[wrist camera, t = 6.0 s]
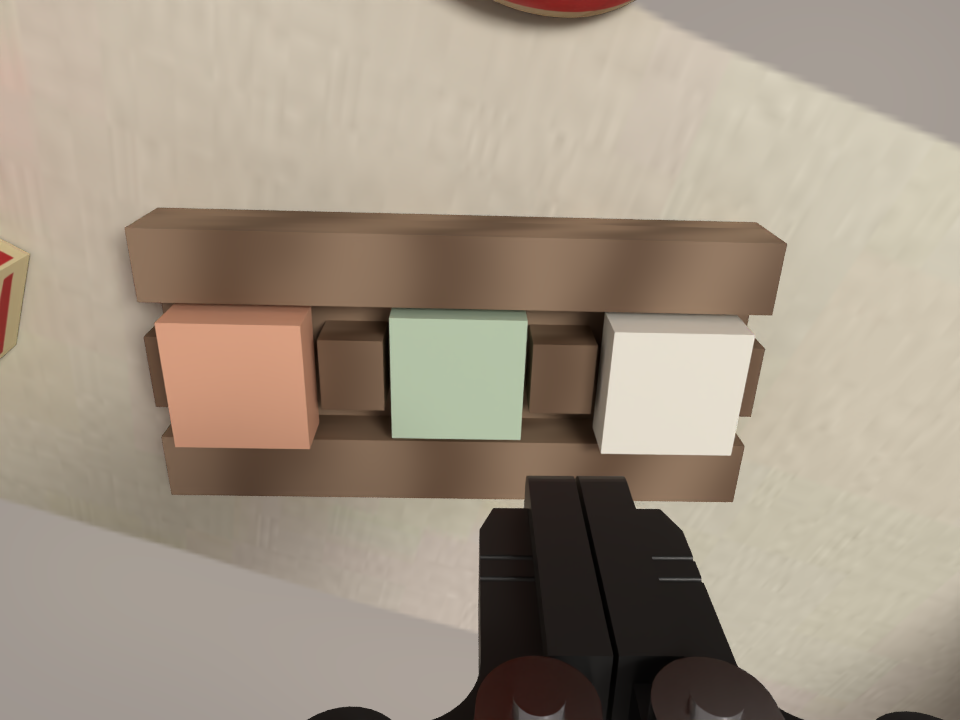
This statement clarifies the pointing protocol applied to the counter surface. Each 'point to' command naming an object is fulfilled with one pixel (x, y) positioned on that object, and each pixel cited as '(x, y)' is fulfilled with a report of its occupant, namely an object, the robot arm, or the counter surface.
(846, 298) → the counter surface
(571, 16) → the ladybug figurine
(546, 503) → the robot arm
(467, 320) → the sage green key
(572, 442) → the key board
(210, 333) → the terracotta key
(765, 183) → the counter surface
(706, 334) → the ivory key
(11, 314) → the milk carton
